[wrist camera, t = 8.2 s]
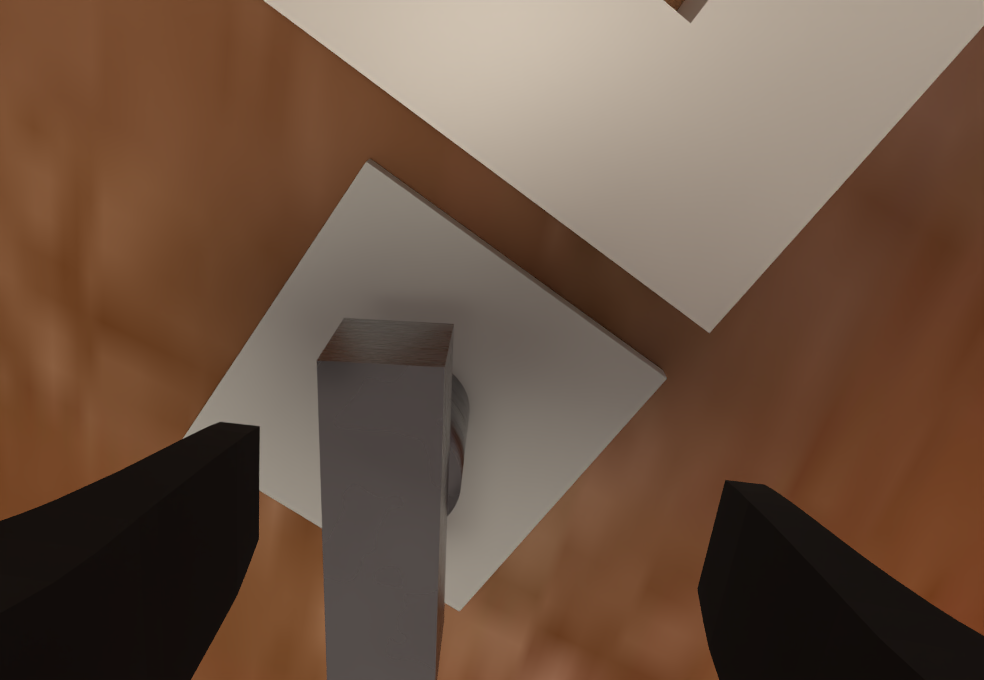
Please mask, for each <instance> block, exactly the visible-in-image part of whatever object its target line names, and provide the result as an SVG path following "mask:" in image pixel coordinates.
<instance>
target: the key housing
mask: <svg viewBox="0 0 984 680" xmlns="http://www.w3.org/2000/svg"><path fill="white" fill-rule="evenodd" d="M264 1H265V2H266V3H268V4H269V5H270V6H272V7H273V8H274V9H276V10H277V11H278V12H280V13H281V14H283V15H284V16H285V17H287V18H288V19H289V20H291V21H292V22H293V23H295V24H296V25H297V26H299V27H300V28H301V29H303V30H304V31H305V32H307V33H308V34H309V35H311V36H312V37H313V38H315V39H316V40H317V41H319V42H320V43H321V44H323V45H324V46H325V47H327V48H328V49H329V50H331V51H332V52H333V53H335V54H336V55H337V56H339V57H340V58H341V59H343V60H344V61H345V62H347V63H348V64H349V65H351V66H352V67H354V68H355V69H356V70H358V71H359V72H360V73H362V74H363V75H364V76H366V77H367V78H368V79H370V80H371V81H372V82H374V83H375V84H376V85H378V86H379V87H380V88H382V89H383V90H384V91H386V92H387V93H388V94H390V95H391V96H392V97H394V98H395V99H396V100H398V101H399V102H400V103H402V104H403V105H404V106H406V107H407V108H408V109H410V110H411V111H412V112H414V113H415V114H416V115H418V116H419V117H420V118H422V119H423V120H425V121H426V122H427V123H429V124H430V125H431V126H433V127H434V128H435V129H437V130H438V131H439V132H441V133H442V134H443V135H445V136H446V137H447V138H449V139H450V140H451V141H453V142H454V143H455V144H457V145H458V146H459V147H461V148H462V149H463V150H465V151H466V152H467V153H469V154H470V155H471V156H473V157H474V158H475V159H477V160H478V161H479V162H481V163H482V164H483V165H485V166H486V167H487V168H489V169H490V170H491V171H493V172H494V173H496V174H497V175H498V176H500V177H501V178H502V179H504V180H505V181H506V182H508V183H509V184H510V185H512V186H513V187H514V188H516V189H517V190H518V191H520V192H521V193H522V194H524V195H525V196H526V197H528V198H529V199H530V200H532V201H533V202H534V203H536V204H537V205H538V206H540V207H541V208H542V209H544V210H545V211H546V212H548V213H549V214H550V215H552V216H553V217H554V218H556V219H557V220H558V221H560V222H561V223H562V224H564V225H565V226H567V227H568V228H569V229H571V230H572V231H573V232H575V233H576V234H577V235H579V236H580V237H581V238H583V239H584V240H585V241H587V242H588V243H589V244H591V245H592V246H593V247H595V248H596V249H597V250H599V251H600V252H601V253H603V254H604V255H605V256H607V257H608V258H609V259H611V260H612V261H613V262H615V263H616V264H617V265H619V266H620V267H621V268H623V269H624V270H625V271H627V272H628V273H629V274H631V275H632V276H633V277H635V278H636V279H638V280H639V281H640V282H642V283H643V284H644V285H646V286H647V287H648V288H650V289H651V290H652V291H654V292H655V293H656V294H658V295H659V296H660V297H662V298H663V299H664V300H666V301H667V302H668V303H670V304H671V305H672V306H674V307H675V308H676V309H678V310H679V311H680V312H682V313H683V314H684V315H686V316H687V317H688V318H690V319H691V320H692V321H694V322H695V323H696V324H698V325H699V326H700V327H702V328H703V329H704V330H706V331H707V332H709V333H710V332H711V331H712V330H713V329H714V328H715V326H716V325H717V324H718V323H719V322H720V321H721V320H722V319H723V317H724V316H725V315H726V314H727V313H728V312H729V311H730V310H731V308H732V307H733V306H734V305H735V304H736V303H737V302H738V301H739V299H740V298H741V297H742V296H743V295H744V294H745V293H746V292H747V291H748V289H749V288H750V287H751V286H752V285H753V284H754V283H755V282H756V280H757V279H758V278H759V277H760V276H761V275H762V274H763V273H764V271H765V270H766V269H767V268H768V267H769V266H770V265H771V264H772V262H773V261H774V260H775V259H776V258H777V257H778V256H779V255H780V254H781V252H782V251H783V250H784V249H785V248H786V247H787V246H788V245H789V243H790V242H791V241H792V240H793V239H794V238H795V237H796V236H797V234H798V233H799V232H800V231H801V230H802V229H803V228H804V227H805V226H806V224H807V223H808V222H809V221H810V220H811V219H812V218H813V217H814V215H815V214H816V213H817V212H818V211H819V210H820V209H821V208H822V206H823V205H824V204H825V203H826V202H827V201H828V200H829V199H830V197H831V196H832V195H833V194H834V193H835V192H836V191H837V190H838V189H839V187H840V186H841V185H842V184H843V183H844V182H845V181H846V180H847V178H848V177H849V176H850V175H851V174H852V173H853V172H854V171H855V169H856V168H857V167H858V166H859V165H860V164H861V163H862V162H863V160H864V159H865V158H866V157H867V156H868V155H869V154H870V153H871V152H872V150H873V149H874V148H875V147H876V146H877V145H878V144H879V143H880V141H881V140H882V139H883V138H884V137H885V136H886V135H887V134H888V132H889V131H890V130H891V129H892V128H893V127H894V126H895V125H896V123H897V122H898V121H899V120H900V119H901V118H902V117H903V116H904V115H905V113H906V112H907V111H908V110H909V109H910V108H911V107H912V106H913V104H914V103H915V102H916V101H917V100H918V99H919V98H920V97H921V95H922V94H923V93H924V92H925V91H926V90H927V89H928V88H929V87H930V85H931V84H932V83H933V82H934V81H935V80H936V79H937V78H938V76H939V75H940V74H941V73H942V72H943V71H944V70H945V69H946V67H947V66H948V65H949V64H950V63H951V62H952V61H953V60H954V58H955V57H956V56H957V55H958V54H959V53H960V52H961V51H962V50H963V48H964V47H965V46H966V45H967V44H968V43H969V42H970V41H971V39H972V38H973V37H974V36H975V35H976V34H977V33H978V32H979V30H980V29H981V28H982V27H983V26H984V0H685V1H684V2H683V3H682V5H681V6H680V7H679V9H678V10H677V11H675V10H674V9H673V8H672V7H671V6H670V5H668V4H667V3H666V2H665V1H664V0H264Z"/></svg>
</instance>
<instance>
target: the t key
mask: <svg viewBox="0 0 984 680" xmlns="http://www.w3.org/2000/svg"><path fill="white" fill-rule="evenodd" d="M453 335H454V324H448V323H429V322H411V321H392V320H373V319H355V318H343V320H342V322H341V323H340V325H339V326H338V328H337V329H336V331H335V333H334V334H333V336H332V337H331V339H330V340H329V342H328V343H327V345H326V347H325V348H324V350H323V351H322V353H321V354H320V356H319V358H318V359H317V388H318V418H319V449H320V479H321V510H322V540H323V571H324V601H325V632H326V662H327V680H437V676H438V667H439V659H440V650H441V642H442V633H443V625H444V603H445V573H446V543H447V517H448V515H449V514H450V513H451V512H452V510H453V509H454V507H455V506H456V503H457V501H458V499H459V495H460V491H461V482H462V473H463V465H464V456H465V447H466V438H467V430H468V421H469V412H470V408H469V400H468V396H467V393H466V391H465V389H464V387H463V385H462V384H461V382H460V381H459V380H458V379H457V377H456V376H455V375H454V374H452V365H453Z"/></svg>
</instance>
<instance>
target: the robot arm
mask: <svg viewBox="0 0 984 680" xmlns="http://www.w3.org/2000/svg"><path fill="white" fill-rule="evenodd" d="M259 461H260V426H254V425H245V424H236V423H228V422H218V423H216V424H213V425H210V426H208V427H206V428H204V429H202V430H200V431H198V432H196V433H194V434H192V435H189V436H188V437H186V438H184V439H182V440H180V441H178V442H176V443H174V444H172V445H170V446H168V447H166V448H164V449H162V450H160V451H158V452H156V453H154V454H152V455H150V456H148V457H146V458H144V459H142V460H140V461H138V462H136V463H134V464H132V465H130V466H128V467H126V468H124V469H122V470H120V471H118V472H116V473H114V474H112V475H110V476H107V477H105V478H103V479H101V480H99V481H96V482H94V483H92V484H90V485H88V486H85V487H83V488H81V489H79V490H76V491H74V492H72V493H70V494H68V495H65V496H63V497H61V498H59V499H57V500H54V501H52V502H49V503H47V504H44V505H42V506H39V507H37V508H34V509H32V510H29V511H27V512H24V513H21V514H19V515H16V516H13V517H10V518H8V519H5V520H2V521H0V680H191V678H192V677H193V675H194V673H195V671H196V669H197V668H198V666H199V664H200V662H201V660H202V659H203V657H204V655H205V653H206V651H207V650H208V648H209V646H210V644H211V642H212V641H213V639H214V637H215V635H216V633H217V632H218V630H219V628H220V626H221V624H222V622H223V621H224V619H225V617H226V615H227V613H228V611H229V610H230V608H231V606H232V604H233V602H234V600H235V598H236V596H237V594H238V592H239V589H240V587H241V584H242V582H243V579H244V577H245V574H246V572H247V569H248V567H249V564H250V561H251V558H252V556H253V553H254V550H255V548H256V545H257V542H258V540H259ZM698 595H699V600H700V606H701V611H702V617H703V622H704V627H705V632H706V637H707V641H708V646H709V650H710V653H711V656H712V659H713V662H714V665H715V668H716V671H717V674H718V677H719V680H984V636H983V635H981V634H979V633H978V632H976V631H974V630H973V629H971V628H969V627H968V626H966V625H964V624H962V623H961V622H959V621H957V620H956V619H954V618H953V617H951V616H949V615H948V614H946V613H945V612H943V611H941V610H940V609H938V608H937V607H935V606H934V605H932V604H931V603H929V602H928V601H926V600H925V599H923V598H922V597H920V596H919V595H917V594H916V593H914V592H913V591H911V590H910V589H908V588H907V587H905V586H904V585H903V584H901V583H900V582H898V581H897V580H895V579H894V578H892V577H891V576H889V575H888V574H887V573H885V572H884V571H882V570H881V569H880V568H878V567H877V566H875V565H874V564H873V563H871V562H870V561H869V560H867V559H866V558H865V557H863V556H862V555H860V554H859V553H858V552H856V551H855V550H854V549H852V548H851V547H850V546H848V545H847V544H846V543H844V542H843V541H842V540H840V539H839V538H838V537H837V536H835V535H834V534H833V533H831V532H830V531H829V530H827V529H826V528H825V527H823V526H822V525H821V524H819V523H818V522H817V521H816V520H814V519H813V518H812V517H810V516H809V515H808V514H806V513H805V512H804V511H802V510H801V509H800V508H798V507H797V506H796V505H794V504H793V503H792V502H790V501H789V500H787V499H786V498H785V497H783V496H782V495H780V494H779V493H777V492H776V491H774V490H773V489H771V488H769V487H768V486H766V485H763V484H754V483H745V482H737V481H728V480H725V484H724V488H723V491H722V495H721V499H720V503H719V507H718V511H717V515H716V519H715V523H714V527H713V531H712V534H711V538H710V542H709V546H708V550H707V554H706V558H705V562H704V566H703V570H702V574H701V577H700V581H699V585H698Z"/></svg>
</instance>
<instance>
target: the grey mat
mask: <svg viewBox="0 0 984 680" xmlns="http://www.w3.org/2000/svg"><path fill="white" fill-rule="evenodd" d="M343 318H355V319H373V320H392V321H411V322H429V323H448V324H454V335H453V365H452V374H454V375H455V376H456V377H457V379H458V380H459V381H460V382H461V384H462V385H463V387H464V389H465V391H466V393H467V396H468V400H469V408H470V412H469V421H468V430H467V438H466V447H465V456H464V465H463V473H462V482H461V491H460V495H459V499H458V501H457V503H456V506H455V507H454V509H453V510H452V512H451V513H450V514H449V515H448V517H447V543H446V573H445V603H446V604H448V605H449V606H451V607H453V608H454V609H456V610H458V611H460V610H461V609H462V608H463V607H464V606H465V605H466V604H467V602H468V601H469V600H470V599H471V598H472V597H473V596H474V595H475V593H476V592H477V591H478V590H479V589H480V588H481V587H482V586H483V584H484V583H485V582H486V581H487V580H488V579H489V578H490V577H491V575H492V574H493V573H494V572H495V571H496V570H497V569H498V568H499V566H500V565H501V564H502V563H503V562H504V561H505V560H506V559H507V557H508V556H509V555H510V554H511V553H512V552H513V551H514V550H515V549H516V547H517V546H518V545H519V544H520V543H521V542H522V541H523V540H524V538H525V537H526V536H527V535H528V534H529V533H530V532H531V531H532V529H533V528H534V527H535V526H536V525H537V524H538V523H539V522H540V520H541V519H542V518H543V517H544V516H545V515H546V514H547V513H548V511H549V510H550V509H551V508H552V507H553V506H554V505H555V504H556V503H557V501H558V500H559V499H560V498H561V497H562V496H563V495H564V494H565V492H566V491H567V490H568V489H569V488H570V487H571V486H572V485H573V483H574V482H575V481H576V480H577V479H578V478H579V477H580V476H581V474H582V473H583V472H584V471H585V470H586V469H587V468H588V467H589V465H590V464H591V463H592V462H593V461H594V460H595V459H596V458H597V456H598V455H599V454H600V453H601V452H602V451H603V450H604V449H605V448H606V446H607V445H608V444H609V443H610V442H611V441H612V440H613V439H614V437H615V436H616V435H617V434H618V433H619V432H620V431H621V430H622V428H623V427H624V426H625V425H626V424H627V423H628V422H629V421H630V419H631V418H632V417H633V416H634V415H635V414H636V413H637V412H638V410H639V409H640V408H641V407H642V406H643V405H644V404H645V403H646V401H647V400H648V399H649V398H650V397H651V396H652V395H653V394H654V393H655V391H656V390H657V389H658V388H659V387H660V386H661V385H662V384H663V382H664V381H665V380H666V379H667V377H666V375H665V373H664V371H663V370H662V369H661V368H659V367H658V366H656V365H655V364H654V363H652V362H651V361H649V360H648V359H647V358H645V357H644V356H643V355H641V354H640V353H638V352H637V351H636V350H634V349H633V348H631V347H630V346H629V345H627V344H626V343H625V342H623V341H622V340H620V339H619V338H618V337H616V336H615V335H614V334H612V333H611V332H609V331H608V330H607V329H605V328H604V327H602V326H601V325H600V324H598V323H597V322H596V321H594V320H593V319H591V318H590V317H589V316H587V315H586V314H584V313H583V312H582V311H580V310H579V309H578V308H576V307H575V306H573V305H572V304H571V303H569V302H568V301H567V300H565V299H564V298H562V297H561V296H560V295H558V294H557V293H555V292H554V291H553V290H551V289H550V288H549V287H547V286H546V285H544V284H543V283H542V282H540V281H539V280H537V279H536V278H535V277H533V276H532V275H531V274H529V273H528V272H526V271H525V270H524V269H522V268H521V267H520V266H518V265H517V264H515V263H514V262H513V261H511V260H510V259H508V258H507V257H506V256H504V255H503V254H502V253H500V252H499V251H497V250H496V249H495V248H493V247H492V246H490V245H489V244H488V243H486V242H485V241H484V240H482V239H481V238H479V237H478V236H477V235H475V234H474V233H473V232H471V231H470V230H468V229H467V228H466V227H464V226H463V225H461V224H460V223H459V222H457V221H456V220H455V219H453V218H452V217H450V216H449V215H448V214H446V213H445V212H443V211H442V210H441V209H439V208H438V207H437V206H435V205H434V204H432V203H431V202H430V201H428V200H427V199H426V198H424V197H423V196H421V195H420V194H419V193H417V192H416V191H414V190H413V189H412V188H410V187H409V186H408V185H406V184H405V183H403V182H402V181H401V180H399V179H398V178H396V177H395V176H394V175H392V174H391V173H390V172H388V171H387V170H385V169H384V168H383V167H381V166H380V165H379V164H377V163H376V162H374V161H373V160H372V159H369V160H368V161H366V163H365V164H364V166H363V167H362V169H361V170H360V172H359V173H358V175H357V176H356V178H355V179H354V181H353V182H352V184H351V185H350V187H349V189H348V190H347V192H346V193H345V195H344V196H343V198H342V199H341V201H340V202H339V204H338V205H337V207H336V208H335V210H334V211H333V213H332V214H331V216H330V217H329V219H328V220H327V222H326V223H325V225H324V226H323V228H322V229H321V231H320V232H319V234H318V235H317V237H316V238H315V240H314V241H313V243H312V244H311V246H310V247H309V249H308V250H307V252H306V253H305V255H304V257H303V258H302V260H301V261H300V263H299V264H298V266H297V267H296V269H295V270H294V272H293V273H292V275H291V276H290V278H289V279H288V281H287V282H286V284H285V285H284V287H283V288H282V290H281V291H280V293H279V294H278V296H277V297H276V299H275V300H274V302H273V303H272V305H271V306H270V308H269V309H268V311H267V312H266V314H265V315H264V317H263V318H262V320H261V321H260V323H259V325H258V326H257V328H256V329H255V331H254V332H253V334H252V335H251V337H250V338H249V340H248V341H247V343H246V344H245V346H244V347H243V349H242V350H241V352H240V353H239V355H238V356H237V358H236V359H235V361H234V362H233V364H232V365H231V367H230V368H229V370H228V371H227V373H226V374H225V376H224V377H223V379H222V380H221V382H220V383H219V385H218V386H217V388H216V389H215V391H214V393H213V394H212V396H211V397H210V399H209V400H208V402H207V403H206V405H205V406H204V408H203V409H202V411H201V412H200V414H199V415H198V417H197V418H196V420H195V421H194V423H193V424H192V426H191V427H190V429H189V430H188V432H187V433H186V435H185V436H184V438H186V437H188V436H189V435H192V434H194V433H196V432H198V431H200V430H202V429H204V428H206V427H208V426H210V425H213V424H216V423H218V422H228V423H236V424H245V425H254V426H260V461H259V490H260V491H261V492H263V493H265V494H266V495H268V496H270V497H271V498H273V499H275V500H276V501H278V502H279V503H281V504H283V505H284V506H286V507H288V508H289V509H291V510H293V511H294V512H296V513H298V514H299V515H301V516H303V517H304V518H306V519H308V520H309V521H311V522H312V523H314V524H316V525H317V526H319V527H321V528H322V510H321V479H320V449H319V418H318V388H317V359H318V358H319V356H320V354H321V353H322V351H323V350H324V348H325V347H326V345H327V343H328V342H329V340H330V339H331V337H332V336H333V334H334V333H335V331H336V329H337V328H338V326H339V325H340V323H341V322H342V320H343ZM184 438H183V439H184Z"/></svg>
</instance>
